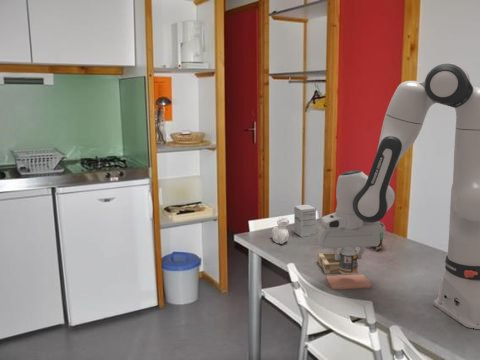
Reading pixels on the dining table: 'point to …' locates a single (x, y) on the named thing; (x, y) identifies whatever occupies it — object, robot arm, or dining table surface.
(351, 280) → the mat
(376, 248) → the food container
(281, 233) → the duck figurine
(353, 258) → the pill bottle
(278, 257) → the dining table surface
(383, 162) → the robot arm
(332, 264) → the block
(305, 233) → the supplement box
